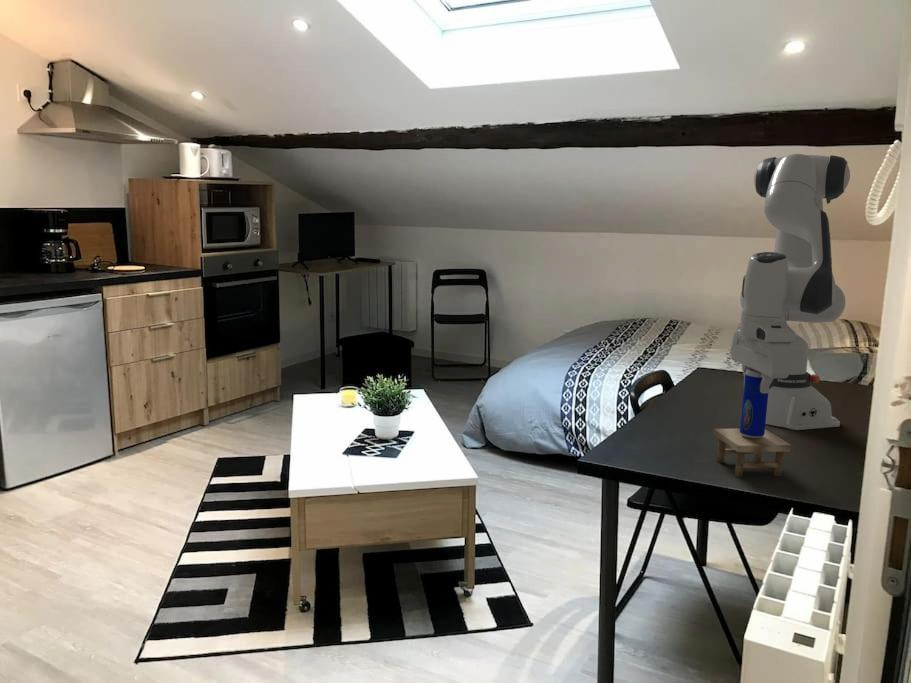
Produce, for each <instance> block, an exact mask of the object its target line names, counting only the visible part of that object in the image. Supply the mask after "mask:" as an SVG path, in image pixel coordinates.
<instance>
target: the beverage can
mask: <svg viewBox="0 0 911 683" xmlns="http://www.w3.org/2000/svg"><path fill="white" fill-rule="evenodd" d="M761 374H762V373H760V372H758V371H756V370H754V369H752V368H749V369H747V370H746V373H745V379H744V378H743V390H742V391H743V392H742V393H743V394H742V403H741V412H740V415H741V416H740V422H739V423H740V424H739V428H740V433H741V434H742V435H743V436H744V437H748V438H762V437H763V436H764V433H765V429H766V424H765V423H766V413H767V403H768V393H761V392H759V391H758V384H761V381H762V378H761Z"/></svg>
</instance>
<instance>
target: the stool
mask: <svg viewBox="0 0 911 683" xmlns="http://www.w3.org/2000/svg"><path fill="white" fill-rule="evenodd" d="M713 436H714V437H716V438H717V439H718V443H717V444H718V446H717V455H716V457H717V458H716V462H717V463H721V464H724V463H725V458H726V457H725V456H726V455H736V457H735V471H734V477H736V478H742V477H743V474H744V469H764V468H765V469H766V468H773V476H775V477H782V473H783V466H784V465H783V464H784V455H785V453H786V452H791V450H792V444H790V443H788V442H787V441H786V440H784V439H782V438H781V437H778V436H777V435H775V434H774V433H772V432H771V431H769V430H767V429H766V428H765V433H764V436H763V437H762V438H748V437H744V436H743V435H742V434H741V433H740V427H739V428H714V429H713ZM726 445H727V446H729V448H726ZM770 452H772V453H773V452H774V453H775V456H774V457H775V458H774V459H775V460H774V461H762V457H763V453H770ZM747 454H748V455H753V454H754V455H753V461H745V455H747Z"/></svg>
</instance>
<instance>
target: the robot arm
mask: <svg viewBox="0 0 911 683" xmlns="http://www.w3.org/2000/svg"><path fill="white" fill-rule="evenodd" d="M850 179H851V171H850V167H849V165H848V160H846V159H845V157H842V156H838V155H831V154H830V156H827V155H819V154H818V155H817V154H816V155H815V154H803V153H793V154H789V155H786V156H783V157H776V156H773V157H768V158H765V159H763V160H762V161H760V162H759V163H758V165H757V168H756V169H755V173H754V177H753V184H754V187H755V191H756V194H758V195H759V196H760V197H761V198H764V200H765V201H764V215H765V217H766V219H767V220H768V222H769V223H770V224H771V225H772V227H774V228H775V229H776V232H775V242H774V249H773V250H774V252H772V251H763V252H756V253H755V254H752V255H751V256H750V257H749V260H748V263H747V267H746V268H747V269H746V272H745V275H744V276H743V277H742V278H743V279H742V284H741V285H742V286H741V288H742V289H741V293H740V298H739V299H740V305H741V308H742V310H741V316H740V323H739V324H738V325H737V329H736V330H735V331H734V333H733V336H732V341H731V348H730V358H731V360H733V361H734V362H737V363H739V364H741V365H742V366H741V370H742V374H743V380H744V379H745V373H746V370H747V369H749V368H752V369H754V370H756V371H758V372H760V373H762V374H761V378H762V381H761V384H758V391H759V392H761V393H768V403H767V413H766V423H765V425H770V426H775V427H780V428H785V429H790V430H795V431H800V430H801V431H802V430H814V429H827V428H835V427H836V428H837V427H840V425H841V421H840V420H839V419H837V417H834V416H832V414H833V413H832V406H831V402H830V401H829V400H828V398H827V397H825V396H824V395H823V394H822V393H820V392H819V391H818V390H817V389H816V388H815V387H814V386H812V382H813V383H815V384H818V383H819V382H820V381H821V378H820V376H819V375H816V374H814V373H813V374H811V373H809V372H808V371H807V368H808V357H809V352H810V351H809V350H810V346H809V344H808V342H807V341H806V340H805V339H804V338H803V337H801V335H798V333H796V332H795V331H794V330H793V329H792V328H791V327H790V326H789V325H788V323H787V322H789V321H790V322H800V323H802V322H803V323H811V324H812V323H813V324H819V323H820V324H822V323H831V322H835V321H837V320H838V319H839V318H840V317H841V316H842V314H843V313H844V310H845V307H846V297H845V294H844V291H843V290H842V288H841V287H840V286H839V285H838V284H836V280H835V278H834V273H833V268H832V265H833V263H832V262H833V259H832V257H833V256H832V245H831V244H832V243H831V231H830V221H829V218H828V215H827V213H826V212H825V211H824V203H823V201H824V200H823V199H825V200H826V204H827V205H829V204H830V203H831V201H832V200H835V199H838V198H839V197H840V196H842V195H843V193H845V191H846V189H847V187H848V185H849V182H850Z"/></svg>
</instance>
